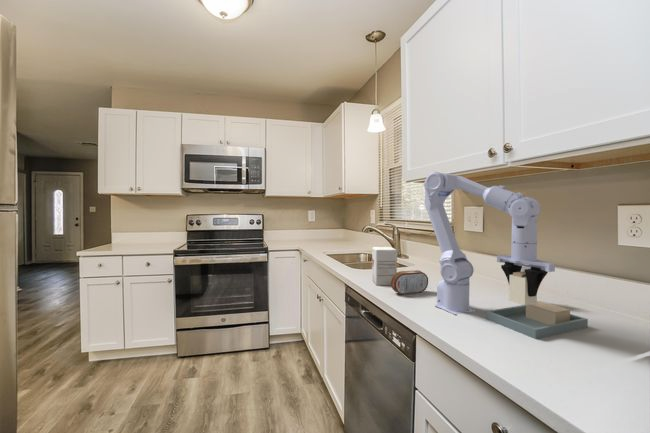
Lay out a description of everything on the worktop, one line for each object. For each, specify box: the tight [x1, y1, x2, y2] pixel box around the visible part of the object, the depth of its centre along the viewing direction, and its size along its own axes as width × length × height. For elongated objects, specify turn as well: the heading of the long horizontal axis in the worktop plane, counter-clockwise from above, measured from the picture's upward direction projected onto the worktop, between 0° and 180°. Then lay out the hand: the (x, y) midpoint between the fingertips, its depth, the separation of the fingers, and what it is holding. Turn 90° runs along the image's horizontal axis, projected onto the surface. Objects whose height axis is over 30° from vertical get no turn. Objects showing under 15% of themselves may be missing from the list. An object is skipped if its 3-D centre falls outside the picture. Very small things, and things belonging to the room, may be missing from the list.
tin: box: [390, 269, 429, 295], centre depth 113 cm, size 15×3×8 cm, turn 108°
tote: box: [485, 304, 589, 340], centre depth 82 cm, size 14×20×3 cm
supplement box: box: [371, 246, 398, 286], centre depth 129 cm, size 9×9×15 cm
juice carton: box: [508, 271, 538, 305], centre depth 80 cm, size 4×4×8 cm
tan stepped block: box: [526, 300, 571, 325], centre depth 84 cm, size 8×6×4 cm
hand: (522, 293), depth 80 cm, fingers closed on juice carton, 4 cm apart
